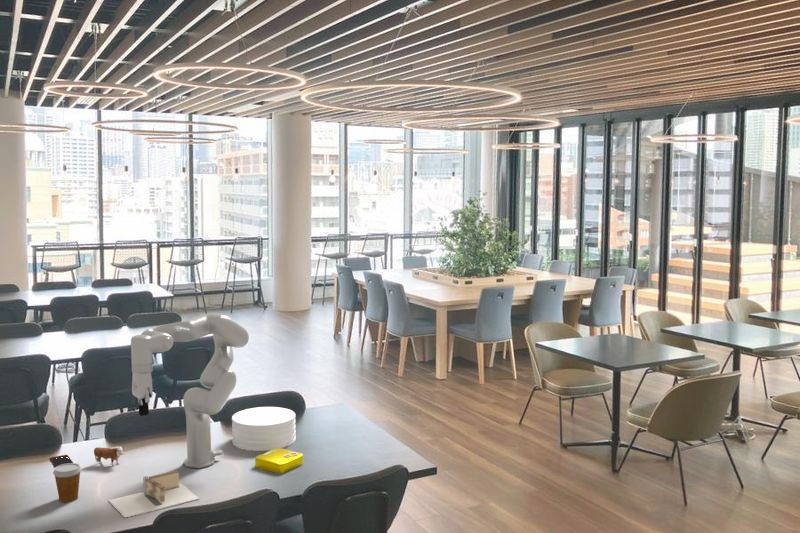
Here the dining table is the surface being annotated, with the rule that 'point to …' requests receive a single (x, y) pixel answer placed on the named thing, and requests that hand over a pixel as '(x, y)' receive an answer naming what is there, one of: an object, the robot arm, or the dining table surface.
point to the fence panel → (155, 490)
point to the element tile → (279, 460)
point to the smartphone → (60, 460)
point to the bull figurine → (108, 454)
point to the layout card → (146, 503)
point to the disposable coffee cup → (67, 481)
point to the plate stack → (263, 428)
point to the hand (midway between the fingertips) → (143, 414)
